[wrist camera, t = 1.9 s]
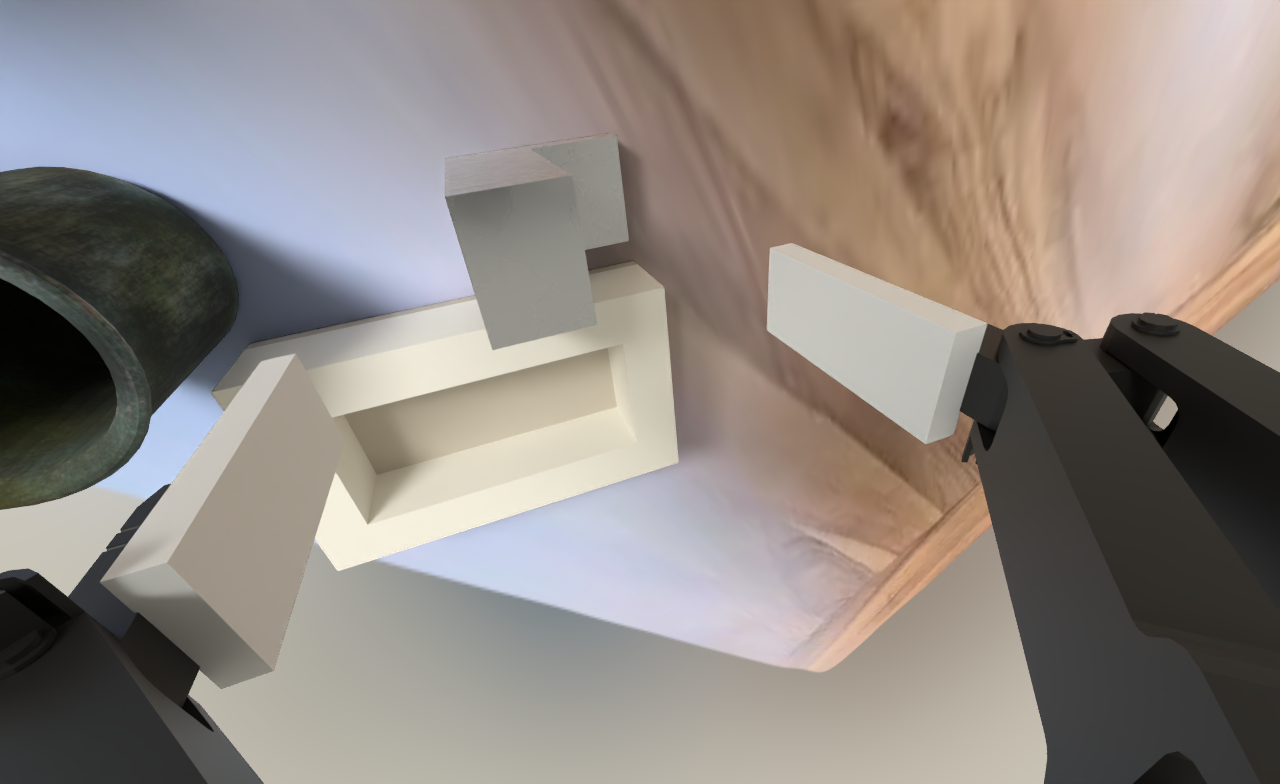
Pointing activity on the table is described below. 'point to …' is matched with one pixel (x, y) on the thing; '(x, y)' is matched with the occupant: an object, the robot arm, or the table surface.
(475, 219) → the grey l-shaped block
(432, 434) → the well block
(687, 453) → the table surface
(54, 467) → the mug
